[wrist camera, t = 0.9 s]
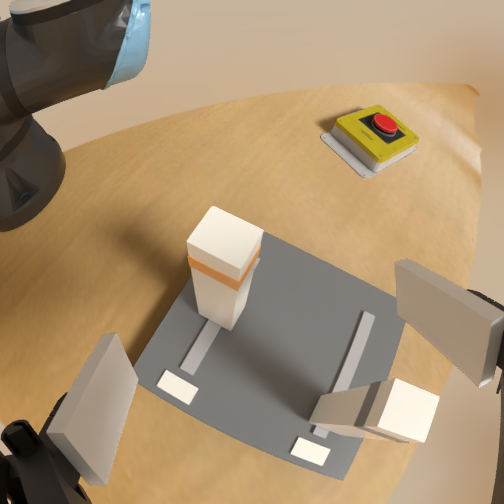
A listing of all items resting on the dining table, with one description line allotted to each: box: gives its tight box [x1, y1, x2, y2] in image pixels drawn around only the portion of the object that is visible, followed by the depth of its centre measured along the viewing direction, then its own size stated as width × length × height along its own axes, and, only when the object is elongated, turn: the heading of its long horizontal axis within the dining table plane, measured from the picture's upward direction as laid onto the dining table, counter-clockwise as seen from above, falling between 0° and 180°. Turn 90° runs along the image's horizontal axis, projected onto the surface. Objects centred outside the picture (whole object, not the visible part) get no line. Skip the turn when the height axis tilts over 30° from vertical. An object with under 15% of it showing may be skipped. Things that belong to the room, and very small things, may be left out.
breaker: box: [309, 378, 440, 443], centre depth 18 cm, size 3×3×12 cm
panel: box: [133, 231, 405, 481], centre depth 27 cm, size 18×20×2 cm
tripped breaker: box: [186, 205, 264, 331], centre depth 21 cm, size 3×3×12 cm
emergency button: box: [321, 105, 419, 179], centre depth 41 cm, size 9×4×15 cm
